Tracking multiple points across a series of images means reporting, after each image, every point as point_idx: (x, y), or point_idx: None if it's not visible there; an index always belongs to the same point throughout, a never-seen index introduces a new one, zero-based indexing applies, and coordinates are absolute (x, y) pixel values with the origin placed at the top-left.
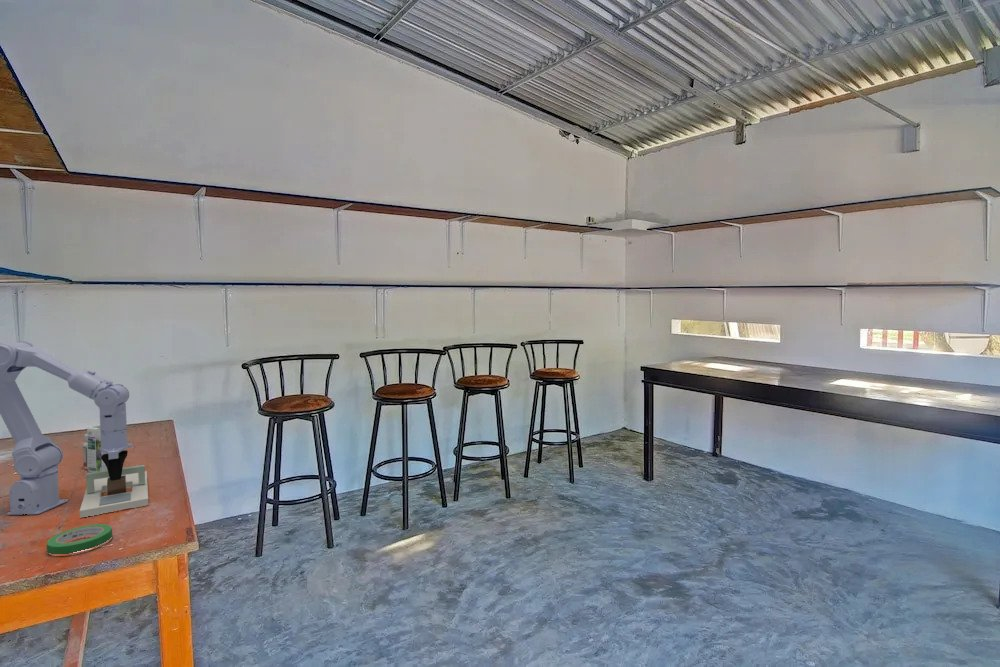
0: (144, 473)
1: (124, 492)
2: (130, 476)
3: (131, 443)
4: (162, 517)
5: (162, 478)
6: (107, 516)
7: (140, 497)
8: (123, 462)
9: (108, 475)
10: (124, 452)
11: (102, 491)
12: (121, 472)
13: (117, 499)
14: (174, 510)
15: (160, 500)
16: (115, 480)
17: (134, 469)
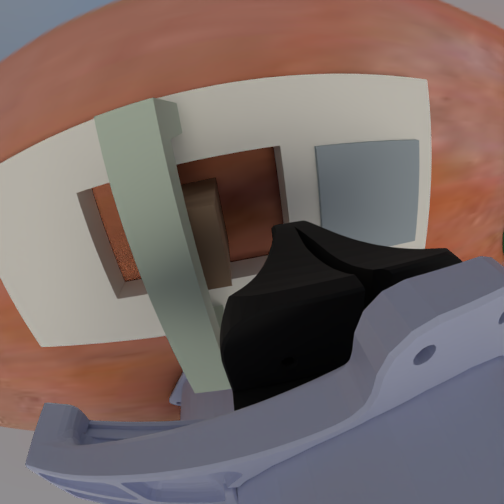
0: (165, 102)
1: (216, 187)
2: (12, 226)
3: (433, 341)
4: (499, 68)
5: (7, 104)
6: (433, 198)
7: (401, 104)
8: (391, 249)
9: (208, 302)
10: (357, 317)
11: (122, 285)
12: (325, 229)
13: (394, 188)
14: (469, 30)
15: (360, 37)
16: (224, 250)
17: (172, 167)
